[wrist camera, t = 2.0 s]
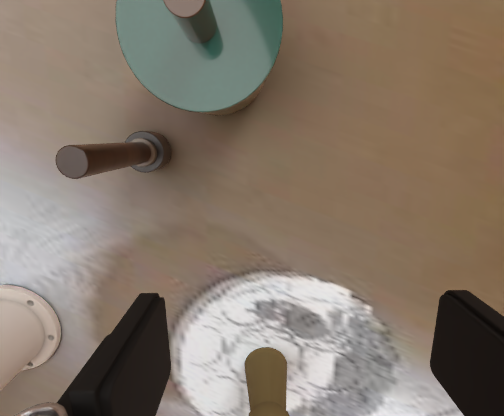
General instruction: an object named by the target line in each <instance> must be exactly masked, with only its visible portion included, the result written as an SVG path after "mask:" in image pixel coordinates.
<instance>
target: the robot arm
mask: <svg viewBox="0 0 504 416" xmlns="http://www.w3.org/2000/svg"><path fill="white" fill-rule="evenodd" d="M60 339H61V328H60V323H59V320H58V317H57V315H56V314H55V312H54V310H53V309H52V308H51V306H50V305H49V304H48V303H47V302H46V301H45V300H44V299H43V298H41V297H40V296H39V295H37V294H35V293H34V292H32V291H30V290H27V289H25V288H22V287H18V286H13V285H0V391H1V390H2V389H3V388H4V387H5V386H6V385H7V384H8V383H9V382H10V381H11V380H12V379H13V378H14V377H15V376H16V375H17V374H18V373H19V372H20V371H21V370H27V369H31V368H35V367H37V366H39V365H41V364H43V363H44V362H45V361H47V360H48V359H49V358H50V357H51V356H52V355H53V353H54V352H55V351H56V349H57V347H58V345H59V342H60ZM430 367H431V370H432V373H433V374H434V376H435V377H436V379H437V380H438V381H439V383H440V384H441V385H442V387H443V388H444V389H445V391H446V392H447V393H448V395H449V396H450V397H451V399H452V400H453V401H454V403H455V404H456V405H457V407H458V408H459V409H460V411H461V412H462V413H463V415H464V416H504V317H503V316H502V315H501V314H499V313H498V312H497V311H495V310H494V309H492V308H491V307H490V306H488V305H487V304H486V303H484V302H483V301H481V300H480V299H479V298H477V297H476V296H475V295H473V294H472V293H470V292H469V291H467V290H448V291H446V292H445V293H444V295H442V296H441V297H440V300H439V306H438V313H437V319H436V326H435V333H434V339H433V346H432V353H431V359H430ZM170 370H171V361H170V350H169V340H168V330H167V319H166V309H165V300H164V298H160V297H159V294H158V293H141V294H139V296H138V297H137V298H136V300H135V301H134V303H133V304H132V305H131V307H130V308H129V309H128V311H127V312H126V314H125V315H124V316H123V318H122V319H121V320H120V322H119V323H118V325H117V326H116V327H115V329H114V330H113V331H112V333H111V334H110V335H107V336H106V337H105V339H104V340H103V341H102V343H101V344H100V345H99V347H98V348H97V349H96V351H95V352H94V353H93V355H92V356H91V357H90V359H89V360H88V361H87V363H86V364H85V365H84V367H83V368H82V370H81V371H80V372H79V374H78V375H77V376H76V378H75V379H74V380H73V382H72V383H71V384H70V386H69V387H68V388H67V390H66V391H65V393H64V394H63V395H62V397H61V398H60V399H59V401H58V402H57V403H49V402H48V403H43V404H37V405H35V406H32V407H30V408H27V409H25V410H23V411H21V412H19V413H18V414H16V415H14V416H155V415H156V413H157V410H158V407H159V404H160V401H161V398H162V396H163V393H164V390H165V387H166V384H167V381H168V379H169V376H170Z"/></svg>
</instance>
